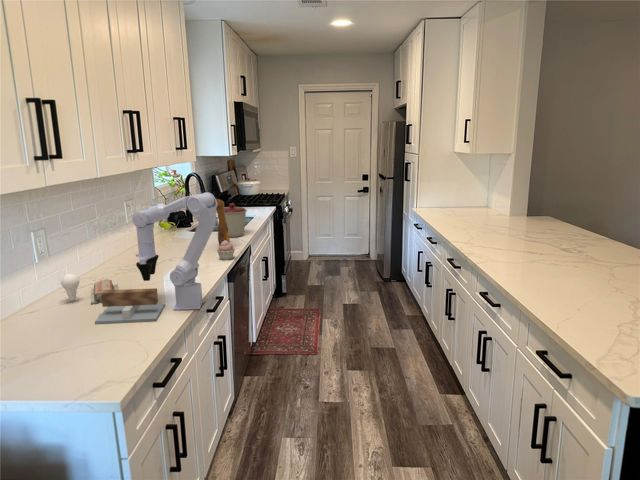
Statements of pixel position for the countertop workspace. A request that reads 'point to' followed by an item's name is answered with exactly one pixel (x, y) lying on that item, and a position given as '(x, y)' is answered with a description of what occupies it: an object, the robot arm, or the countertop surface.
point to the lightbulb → (70, 285)
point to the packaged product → (101, 290)
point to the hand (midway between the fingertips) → (149, 277)
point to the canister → (235, 220)
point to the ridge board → (137, 317)
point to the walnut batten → (129, 297)
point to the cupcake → (225, 251)
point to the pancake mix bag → (222, 223)
